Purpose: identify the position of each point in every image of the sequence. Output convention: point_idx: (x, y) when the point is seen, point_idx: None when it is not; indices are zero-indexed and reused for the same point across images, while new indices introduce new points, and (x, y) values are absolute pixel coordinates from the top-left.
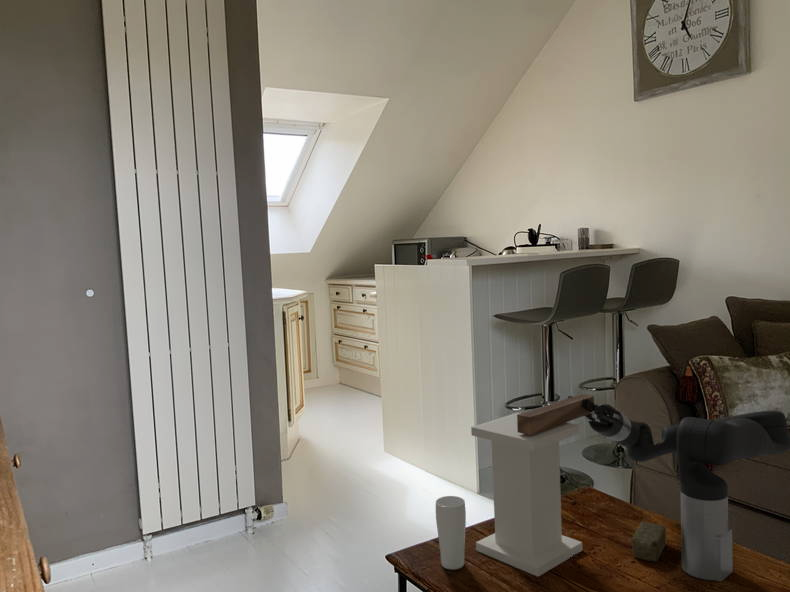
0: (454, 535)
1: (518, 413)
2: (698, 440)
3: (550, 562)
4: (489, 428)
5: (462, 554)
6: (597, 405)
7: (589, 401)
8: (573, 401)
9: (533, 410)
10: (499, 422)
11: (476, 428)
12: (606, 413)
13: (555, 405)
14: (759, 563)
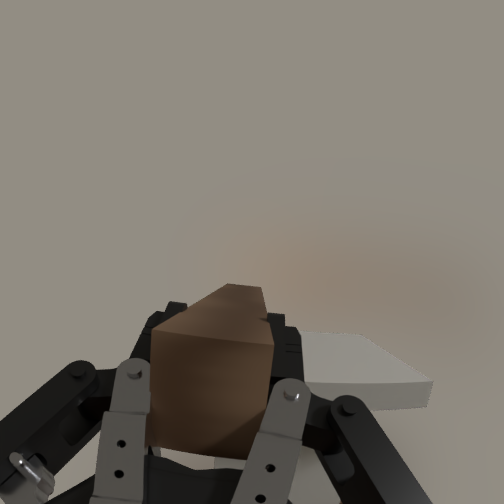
0: None
1: (420, 379)
2: None
3: None
4: (331, 335)
5: None
6: (117, 380)
7: (151, 317)
8: (211, 303)
9: (255, 290)
10: (359, 348)
11: (347, 334)
12: (63, 437)
13: (237, 295)
14: None
